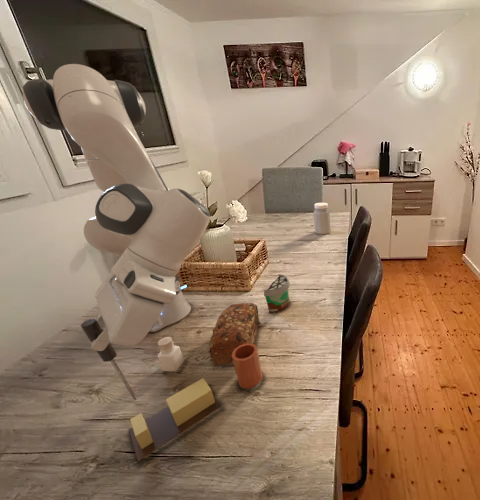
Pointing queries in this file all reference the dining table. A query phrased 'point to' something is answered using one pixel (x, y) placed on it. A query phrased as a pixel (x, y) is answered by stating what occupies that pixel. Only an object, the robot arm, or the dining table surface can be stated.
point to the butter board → (166, 428)
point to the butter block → (190, 401)
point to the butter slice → (141, 431)
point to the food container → (278, 294)
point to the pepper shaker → (169, 355)
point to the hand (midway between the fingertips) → (95, 343)
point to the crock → (247, 365)
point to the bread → (233, 331)
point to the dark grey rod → (108, 353)
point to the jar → (321, 218)
